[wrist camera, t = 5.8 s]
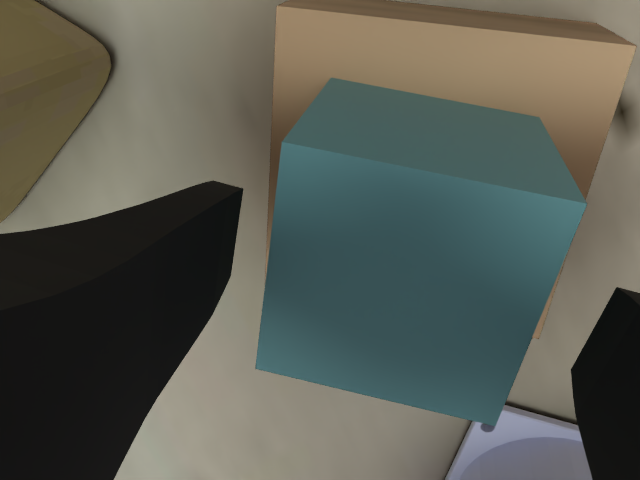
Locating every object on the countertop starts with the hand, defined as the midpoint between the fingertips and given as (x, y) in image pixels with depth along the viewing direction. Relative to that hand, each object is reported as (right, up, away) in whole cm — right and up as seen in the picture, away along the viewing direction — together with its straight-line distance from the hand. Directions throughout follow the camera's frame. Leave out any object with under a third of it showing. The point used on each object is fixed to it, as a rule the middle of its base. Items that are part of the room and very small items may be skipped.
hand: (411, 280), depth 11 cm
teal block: (+1, +2, +4) cm, 4 cm away
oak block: (+2, +4, +7) cm, 8 cm away
